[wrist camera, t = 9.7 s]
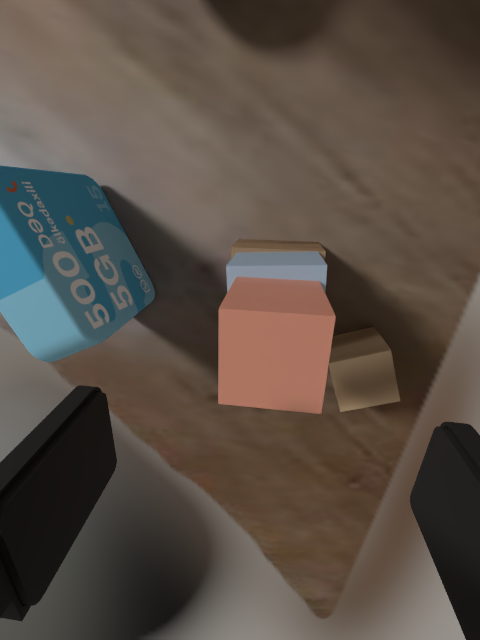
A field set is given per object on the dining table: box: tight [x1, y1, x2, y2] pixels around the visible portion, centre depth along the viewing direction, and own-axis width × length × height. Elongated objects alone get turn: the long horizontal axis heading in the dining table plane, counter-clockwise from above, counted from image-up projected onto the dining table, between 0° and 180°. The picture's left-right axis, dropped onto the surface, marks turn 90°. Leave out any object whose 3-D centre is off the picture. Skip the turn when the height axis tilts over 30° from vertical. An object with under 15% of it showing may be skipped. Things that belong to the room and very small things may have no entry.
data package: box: [0, 166, 155, 362], centre depth 24 cm, size 12×4×12 cm, turn 24°
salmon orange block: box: [218, 277, 336, 414], centre depth 17 cm, size 5×5×6 cm
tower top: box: [226, 252, 327, 293], centre depth 22 cm, size 6×6×5 cm
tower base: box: [231, 239, 326, 261], centre depth 27 cm, size 7×7×5 cm
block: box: [328, 327, 400, 412], centre depth 29 cm, size 5×5×5 cm
